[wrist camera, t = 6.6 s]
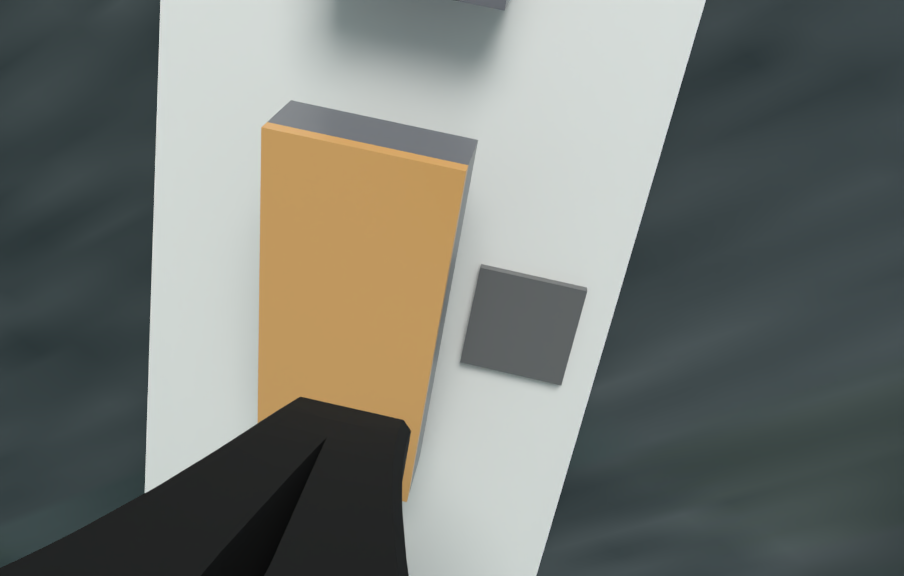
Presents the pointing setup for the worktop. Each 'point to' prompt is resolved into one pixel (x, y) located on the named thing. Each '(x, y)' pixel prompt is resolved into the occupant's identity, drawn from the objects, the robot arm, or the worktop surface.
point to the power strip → (481, 242)
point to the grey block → (489, 3)
